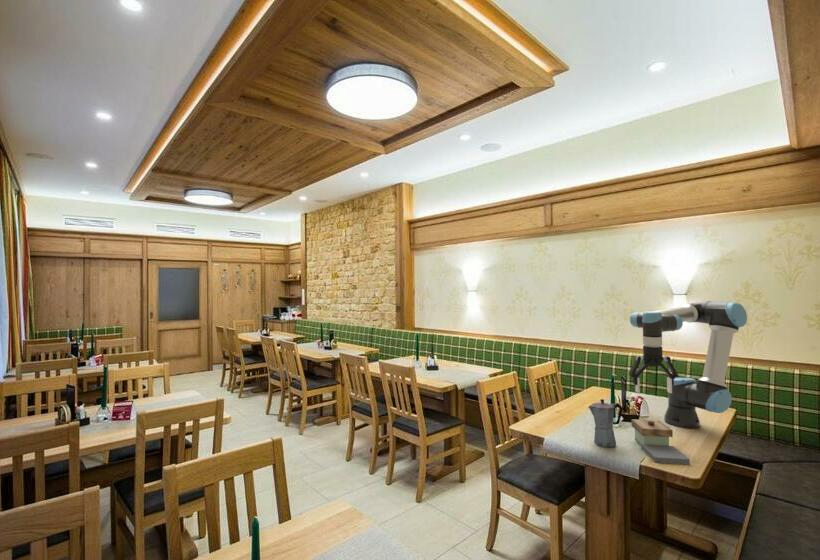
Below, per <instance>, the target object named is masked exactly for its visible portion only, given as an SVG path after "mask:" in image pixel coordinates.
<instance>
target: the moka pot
mask: <svg viewBox="0 0 820 560" xmlns="http://www.w3.org/2000/svg"><path fill="white" fill-rule="evenodd" d="M599 401H600V402H593V403H591V404H589V406H588V407H587V408H588V409H589V411H590V413H591V414H592V416H593V420H594V425H595V426H594V437H593V438H594V439H593V440H594V441H593V442H594V444H595V445H596V444H597V445H596V446H598V445H599V446H598V447H603V448H613V447H616V445H617V442H616V437H615V433H614V431H615V430H614V426H613V424H614V425H619V424H620V421H621V417H622V414H623V407H622V405H620V403H619V402H616V403H607V402H605V400H604V399H602V398H601V399H600V400H599ZM617 408H619V410H618V417H617V420H616V422H614V415H615V413H614V412H615V409H617Z"/></svg>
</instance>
